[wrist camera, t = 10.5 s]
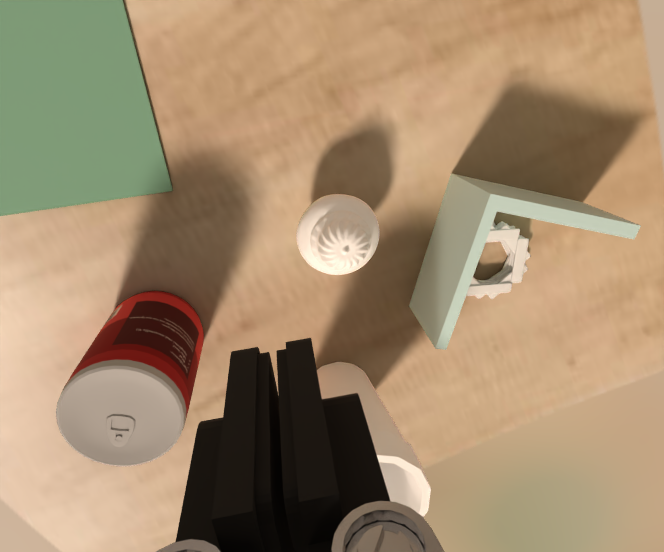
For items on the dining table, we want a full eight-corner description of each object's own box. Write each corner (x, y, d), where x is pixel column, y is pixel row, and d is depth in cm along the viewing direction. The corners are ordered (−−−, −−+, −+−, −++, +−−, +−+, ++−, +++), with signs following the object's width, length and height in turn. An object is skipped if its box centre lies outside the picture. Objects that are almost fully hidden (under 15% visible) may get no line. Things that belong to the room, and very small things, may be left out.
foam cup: (382, 425, 46) (423, 546, 34) (289, 433, 45) (298, 561, 33) (388, 343, 42) (436, 447, 30) (286, 350, 41) (296, 460, 29)
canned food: (120, 374, 40) (72, 475, 30) (99, 291, 36) (37, 372, 26) (211, 365, 40) (193, 460, 30) (198, 283, 37) (174, 359, 27)
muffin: (380, 237, 38) (404, 269, 31) (314, 269, 38) (324, 308, 32) (350, 169, 35) (369, 189, 29) (279, 204, 36) (283, 232, 29)
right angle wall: (407, 303, 41) (435, 348, 34) (448, 172, 37) (490, 193, 30) (523, 320, 44) (571, 366, 37) (575, 199, 39) (640, 225, 33)
